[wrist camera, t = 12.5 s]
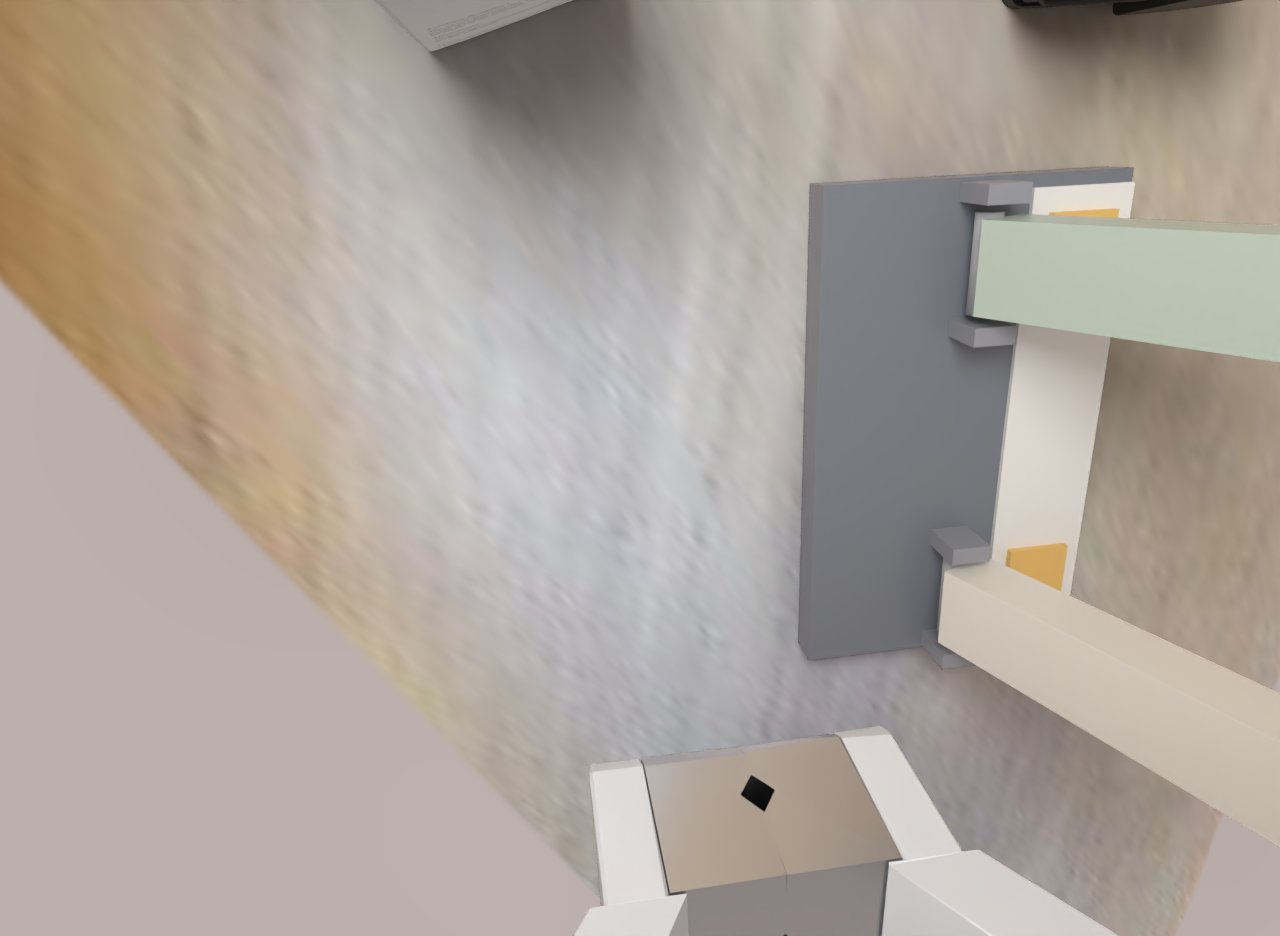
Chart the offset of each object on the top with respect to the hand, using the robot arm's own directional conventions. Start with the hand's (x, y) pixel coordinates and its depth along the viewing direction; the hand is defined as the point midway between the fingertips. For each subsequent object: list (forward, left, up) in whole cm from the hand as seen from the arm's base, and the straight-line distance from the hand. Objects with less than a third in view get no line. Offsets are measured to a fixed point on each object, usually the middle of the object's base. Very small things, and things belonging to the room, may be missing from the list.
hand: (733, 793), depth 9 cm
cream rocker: (+2, +20, -23) cm, 30 cm away
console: (-4, +16, -26) cm, 30 cm away
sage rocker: (-10, +12, -23) cm, 28 cm away
